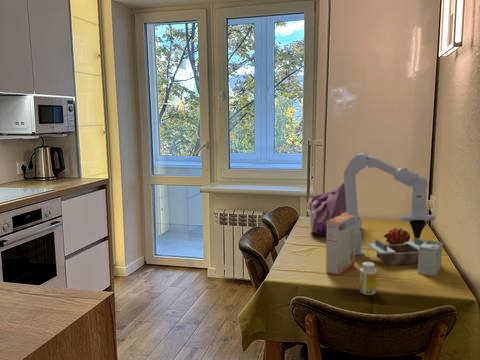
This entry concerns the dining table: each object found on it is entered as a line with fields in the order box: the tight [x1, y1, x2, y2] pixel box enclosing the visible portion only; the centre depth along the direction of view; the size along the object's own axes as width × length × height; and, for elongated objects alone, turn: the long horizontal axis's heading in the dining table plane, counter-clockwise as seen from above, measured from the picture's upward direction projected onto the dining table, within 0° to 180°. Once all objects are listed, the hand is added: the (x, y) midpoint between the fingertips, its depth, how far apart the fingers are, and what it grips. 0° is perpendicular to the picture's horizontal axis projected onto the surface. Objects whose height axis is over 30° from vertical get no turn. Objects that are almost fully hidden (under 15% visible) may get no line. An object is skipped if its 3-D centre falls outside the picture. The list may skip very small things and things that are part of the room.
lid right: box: [404, 237, 425, 251], centre depth 182 cm, size 7×12×3 cm, turn 8°
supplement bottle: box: [359, 261, 378, 296], centre depth 148 cm, size 6×6×10 cm
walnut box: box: [376, 243, 419, 267], centre depth 181 cm, size 14×12×5 cm
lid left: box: [366, 238, 396, 254], centre depth 179 cm, size 7×12×3 cm, turn 8°
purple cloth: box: [309, 182, 347, 237], centre depth 224 cm, size 35×24×28 cm
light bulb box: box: [417, 239, 444, 277], centre depth 168 cm, size 11×7×11 cm, turn 145°
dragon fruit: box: [383, 227, 411, 245], centre depth 203 cm, size 8×8×12 cm
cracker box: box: [325, 213, 356, 276], centre depth 170 cm, size 14×6×21 cm, turn 141°
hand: (416, 237), depth 181 cm, fingers closed
